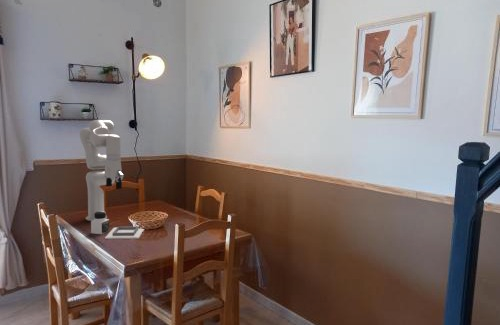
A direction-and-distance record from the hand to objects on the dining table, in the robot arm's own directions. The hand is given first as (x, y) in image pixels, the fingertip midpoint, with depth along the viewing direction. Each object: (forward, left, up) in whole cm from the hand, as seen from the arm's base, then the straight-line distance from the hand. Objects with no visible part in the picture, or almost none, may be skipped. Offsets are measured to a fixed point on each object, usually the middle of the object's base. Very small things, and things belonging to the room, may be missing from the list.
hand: (113, 187), depth 193 cm
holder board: (0, +6, -27) cm, 28 cm away
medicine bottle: (-3, -9, -27) cm, 29 cm away
